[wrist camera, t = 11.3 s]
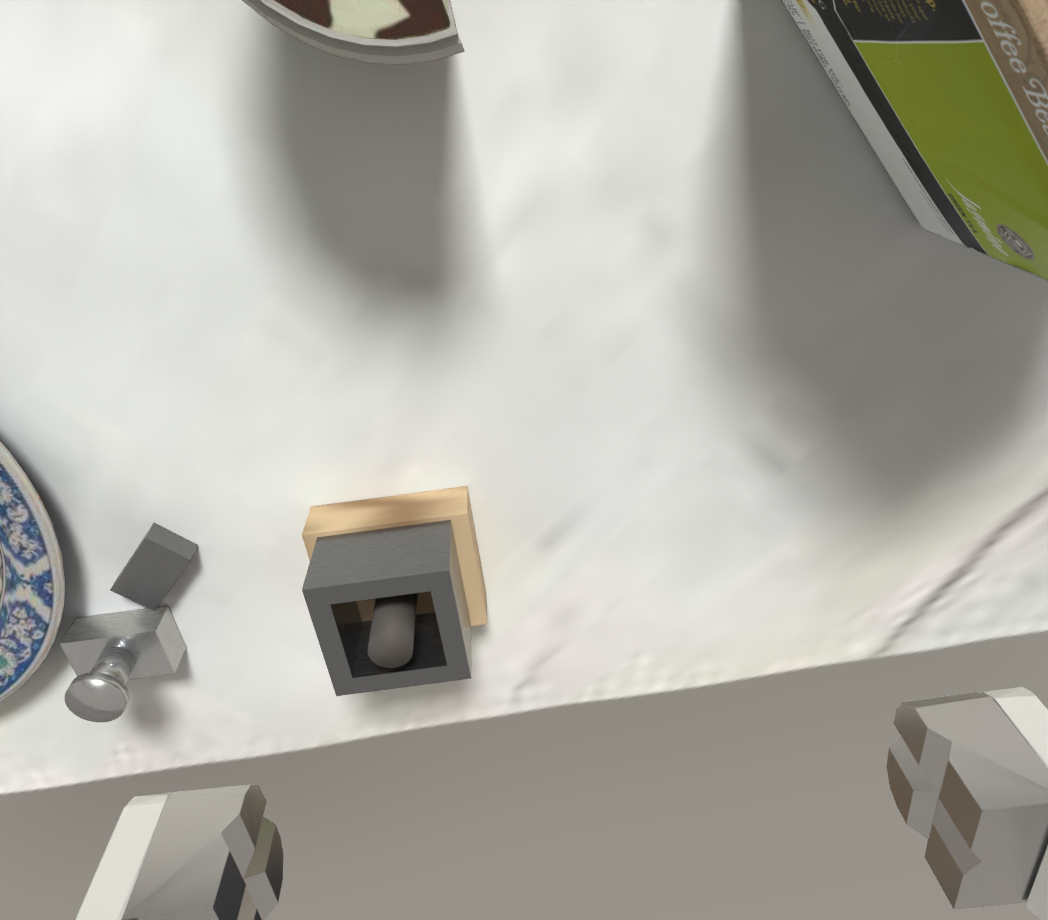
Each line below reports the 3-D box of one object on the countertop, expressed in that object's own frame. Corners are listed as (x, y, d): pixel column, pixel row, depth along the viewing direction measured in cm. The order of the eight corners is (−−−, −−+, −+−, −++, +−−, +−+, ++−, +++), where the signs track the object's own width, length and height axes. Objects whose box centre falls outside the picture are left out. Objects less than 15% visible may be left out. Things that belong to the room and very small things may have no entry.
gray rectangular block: (164, 591, 43) (154, 611, 41) (121, 571, 42) (110, 590, 40) (199, 541, 41) (190, 559, 40) (156, 519, 40) (145, 537, 39)
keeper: (342, 612, 44) (320, 717, 37) (310, 506, 40) (280, 602, 34) (486, 593, 44) (489, 695, 37) (467, 486, 40) (467, 577, 34)
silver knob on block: (97, 659, 44) (57, 729, 40) (76, 618, 43) (32, 686, 38) (186, 647, 44) (155, 716, 40) (168, 606, 43) (134, 673, 38)
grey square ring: (347, 638, 41) (336, 695, 38) (317, 537, 38) (301, 589, 35) (470, 622, 41) (471, 678, 38) (450, 519, 38) (449, 570, 35)
